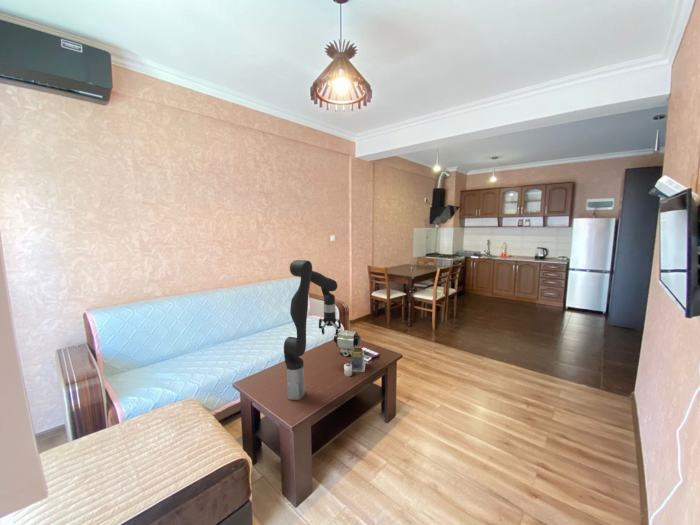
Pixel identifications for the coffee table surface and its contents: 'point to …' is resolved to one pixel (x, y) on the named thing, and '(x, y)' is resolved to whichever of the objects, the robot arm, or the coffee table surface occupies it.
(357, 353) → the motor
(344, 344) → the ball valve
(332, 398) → the coffee table surface
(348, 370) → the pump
